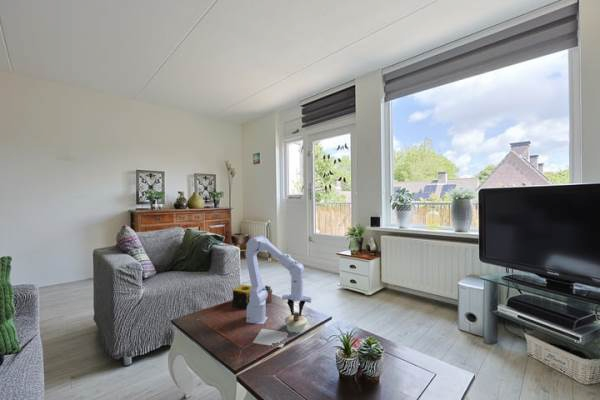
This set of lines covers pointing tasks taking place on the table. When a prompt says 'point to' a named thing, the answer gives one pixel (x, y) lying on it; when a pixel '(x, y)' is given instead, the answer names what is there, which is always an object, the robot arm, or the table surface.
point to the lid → (295, 320)
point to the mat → (270, 337)
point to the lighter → (269, 294)
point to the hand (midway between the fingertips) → (296, 314)
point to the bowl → (295, 328)
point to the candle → (241, 296)
